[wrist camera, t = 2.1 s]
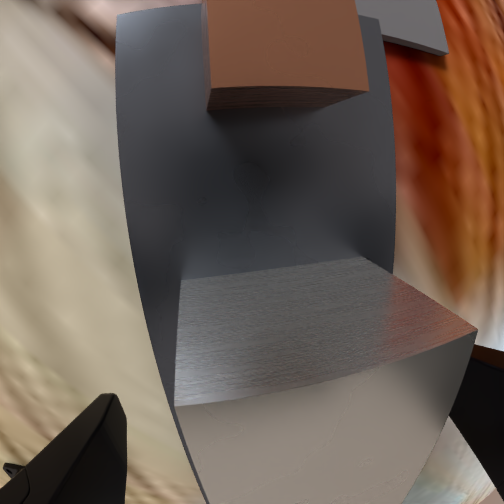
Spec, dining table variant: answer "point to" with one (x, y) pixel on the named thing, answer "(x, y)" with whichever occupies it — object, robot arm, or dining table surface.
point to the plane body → (250, 146)
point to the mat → (408, 23)
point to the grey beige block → (314, 382)
